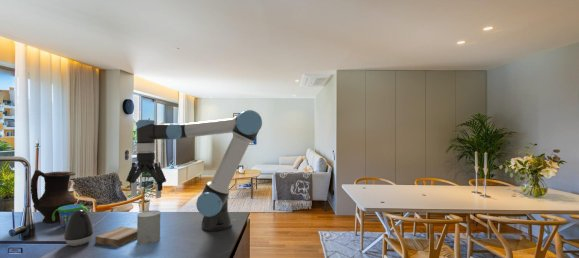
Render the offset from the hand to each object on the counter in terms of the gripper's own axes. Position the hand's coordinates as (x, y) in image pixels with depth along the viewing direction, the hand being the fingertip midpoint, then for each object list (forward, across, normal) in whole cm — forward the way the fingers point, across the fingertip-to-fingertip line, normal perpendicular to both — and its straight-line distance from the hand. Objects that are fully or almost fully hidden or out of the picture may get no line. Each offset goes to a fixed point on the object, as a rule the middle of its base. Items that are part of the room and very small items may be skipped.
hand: (146, 197), depth 125 cm
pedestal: (+19, +11, +4) cm, 23 cm away
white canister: (+20, -3, +2) cm, 20 cm away
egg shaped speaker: (+19, +25, +12) cm, 34 cm away
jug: (+19, +71, -9) cm, 74 cm away
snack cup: (+19, +53, -5) cm, 56 cm away
